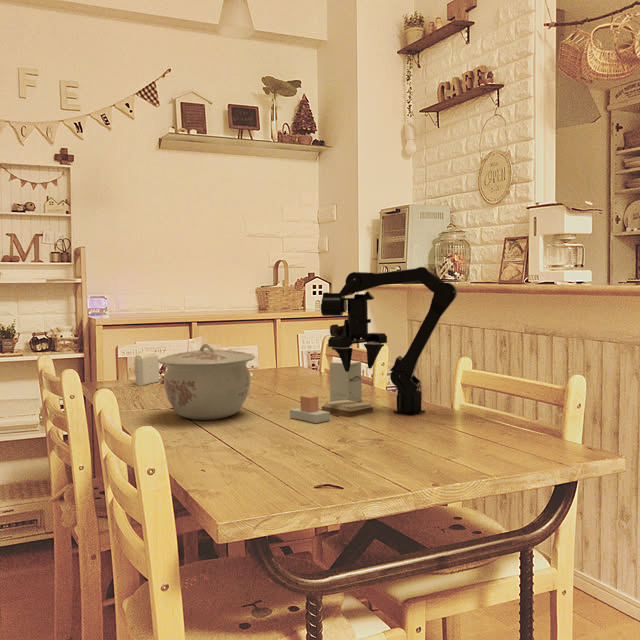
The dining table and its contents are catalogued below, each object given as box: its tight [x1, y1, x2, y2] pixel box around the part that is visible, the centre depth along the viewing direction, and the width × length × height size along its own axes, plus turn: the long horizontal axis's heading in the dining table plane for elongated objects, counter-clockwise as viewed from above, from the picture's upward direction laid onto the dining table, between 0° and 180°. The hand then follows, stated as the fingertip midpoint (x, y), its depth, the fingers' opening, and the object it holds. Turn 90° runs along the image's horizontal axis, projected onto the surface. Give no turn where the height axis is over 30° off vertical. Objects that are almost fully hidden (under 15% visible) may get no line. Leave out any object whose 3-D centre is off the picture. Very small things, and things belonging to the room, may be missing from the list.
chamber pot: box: [158, 343, 256, 421], centre depth 196 cm, size 28×28×21 cm
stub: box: [289, 394, 331, 424], centre depth 187 cm, size 11×5×6 cm, turn 42°
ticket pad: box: [321, 400, 374, 418], centre depth 197 cm, size 12×9×2 cm
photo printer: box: [134, 350, 160, 387], centre depth 260 cm, size 10×4×12 cm, turn 152°
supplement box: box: [329, 360, 362, 402], centre depth 213 cm, size 7×7×13 cm
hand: (358, 370), depth 197 cm, fingers open, 9 cm apart
